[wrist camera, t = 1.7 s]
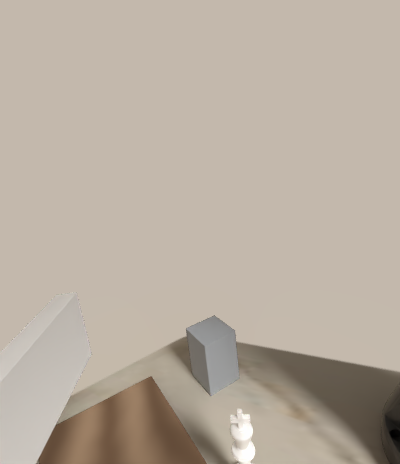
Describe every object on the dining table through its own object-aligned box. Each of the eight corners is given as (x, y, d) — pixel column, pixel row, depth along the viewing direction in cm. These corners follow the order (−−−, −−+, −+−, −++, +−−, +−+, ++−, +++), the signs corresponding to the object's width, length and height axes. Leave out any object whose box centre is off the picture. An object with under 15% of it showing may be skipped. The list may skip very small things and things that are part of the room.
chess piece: (278, 525, 24) (274, 437, 22) (222, 526, 25) (210, 439, 22) (268, 465, 29) (263, 386, 27) (221, 466, 30) (211, 389, 27)
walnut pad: (152, 381, 42) (151, 376, 42) (207, 469, 29) (206, 462, 29) (39, 441, 35) (37, 434, 34) (48, 591, 22) (45, 583, 22)
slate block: (219, 359, 45) (214, 315, 43) (239, 378, 41) (235, 330, 39) (192, 374, 43) (185, 328, 40) (210, 396, 38) (204, 346, 36)
